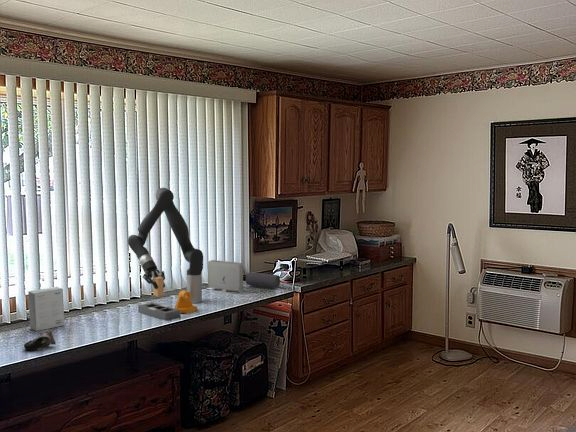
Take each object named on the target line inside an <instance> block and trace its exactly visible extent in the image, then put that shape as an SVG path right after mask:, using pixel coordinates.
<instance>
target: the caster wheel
mask: <svg viewBox="0 0 576 432" xmlns="http://www.w3.org/2000/svg"><path fill="white" fill-rule="evenodd" d="M39 335H40V336H38V337H36V338H34V339H31V340H29V341H27V342H26V343H24V344H23V347H24V350H25V352H31V351H34V350H37V351H43V350H45V349H47V348H48V347H49V346H52V345H56V340H55V338H54V335H53V332H52V331H51V330H50V331H44V332H43V331H42V332H39Z"/></svg>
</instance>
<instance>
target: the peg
mask: <svg viewBox="0 0 576 432" xmlns="http://www.w3.org/2000/svg"><path fill="white" fill-rule="evenodd" d="M154 280H155V282H156V284H157V285H158V288H157V289H155V288H154V286H153V285H152V289H153V291H152V292H153V293H152V294H153V296H155V297H159V296H160V297H161V296H164V294H165V293H164V290H165V289H164V288H165V287H164V288H163V282H164V281H163V277H155V278H154Z"/></svg>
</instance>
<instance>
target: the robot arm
mask: <svg viewBox="0 0 576 432" xmlns="http://www.w3.org/2000/svg"><path fill="white" fill-rule="evenodd" d="M155 198H156V203H155V204H154V206H153V207H152V209H151V210H150V211H149V212H148V213H147V214H146V215H145V216H144V217H143V218H142V221H141V222H140V224H139V225H138V227H137V231H138V234H137V235H136V234H131V235H129V236H128V238H127V244H128V246H129V248H130V249H131V251H132V252H133V253H134V254H135V255H136V258H137V260H138V262H139V264H140V266H141V268H142V271H143V272H144V274H143V275H142V278H143V279H144V280H145V282H146V283H147V284H149V285H150V284H151V285H152V287H153V286H154V288H155V289H157V288H158V285H157V284H156V282H155V280H154V278H155V277H163V288H165V287H166V284H165V282H164V281H165V280H166V275H165V271H164V270H162V271H160V270H159V269H158V266H157V265H156V263H155V261H154V259H153V257H152V256H151V254H150V252H149V250H148V249H147V248H146V247H145V244H146V242H147V239H148V236H149V233H151V230H152V229H153V227H154V226H155V224H156V222H157V221H158V220H159V218H160V217H161V215H162V214H163V213H164V214H165V217H166V220H167V222H168V224H169V226H170V229H171V230H172V232H173V235H174V236H175V238H176V240H177V243H178V244H179V247H180V250H181V252H182V255H183V258H184V260H185V261H186V262H187V263H189V268H187V269H186V291H188V292H190V293H191V298H190V299H191V302H192V304H198V303H202V302H203V278H202V277H203V270H204V253H203V251H202V250H201V249H198V248H196V247H194V246H193V244H192V242H191V240H190V233H189V232H190V231H189V227H188V225H187V222H186V220H185V218H184V217H183V215H182V214H181V213H180V210H178V208H177V207H176V204H175V203H174V200H175V199H174V198H175V196H174V192H173V191H171V190H170V189H168V188H167V187H159V188H158V189H157V190H156V192H155Z"/></svg>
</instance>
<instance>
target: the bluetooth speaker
mask: <svg viewBox="0 0 576 432" xmlns="http://www.w3.org/2000/svg"><path fill="white" fill-rule="evenodd" d="M244 281H245V284H246V285H249V286H253V287H255V288H258V289H267V290H269V289H270V288H275V289H276V288H279V287H280V284H281V277H280V275H277V274H271V273H270V274H269V273H263V272H247V274H246V275H245V280H244Z"/></svg>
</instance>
